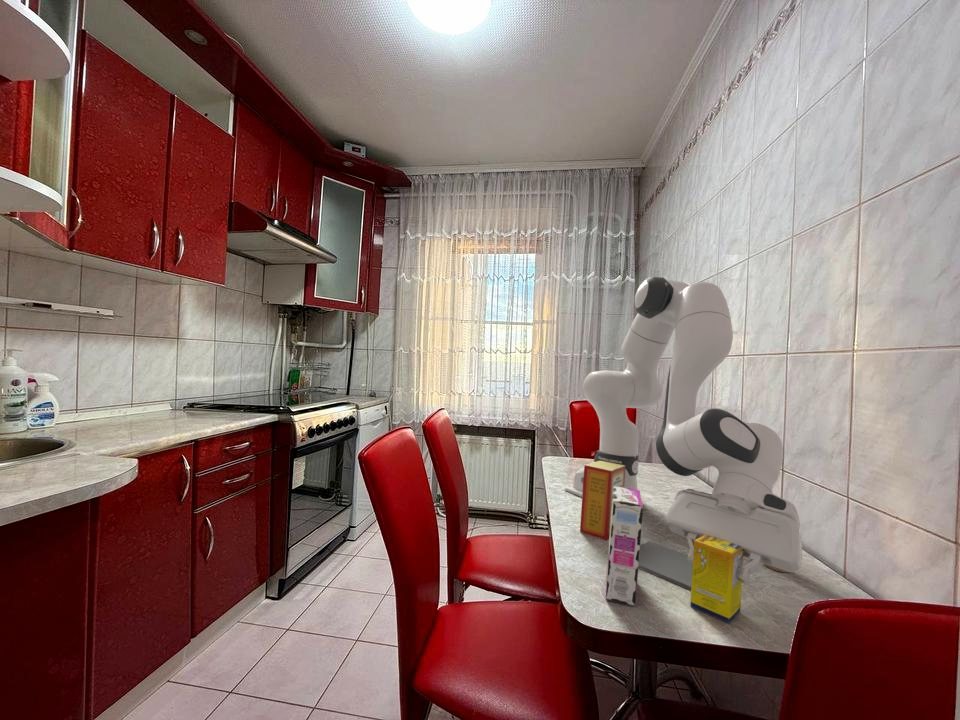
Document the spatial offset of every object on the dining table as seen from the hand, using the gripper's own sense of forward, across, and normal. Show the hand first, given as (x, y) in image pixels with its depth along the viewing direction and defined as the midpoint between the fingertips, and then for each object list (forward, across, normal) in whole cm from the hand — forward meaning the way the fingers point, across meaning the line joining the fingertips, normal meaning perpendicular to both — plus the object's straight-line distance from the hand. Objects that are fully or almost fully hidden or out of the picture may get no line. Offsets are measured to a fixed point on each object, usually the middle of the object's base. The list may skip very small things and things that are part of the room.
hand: (715, 570), depth 69 cm
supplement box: (+4, 0, +5) cm, 7 cm away
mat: (-3, -12, +12) cm, 17 cm away
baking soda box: (-6, -30, +15) cm, 34 cm away
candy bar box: (+9, -13, 0) cm, 16 cm away
